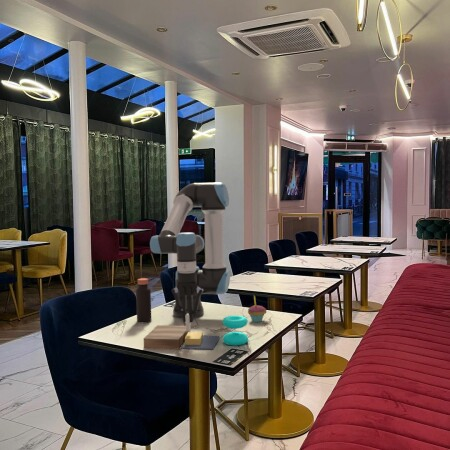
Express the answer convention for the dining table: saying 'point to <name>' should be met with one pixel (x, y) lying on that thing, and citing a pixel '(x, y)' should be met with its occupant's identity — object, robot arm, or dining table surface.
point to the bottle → (143, 301)
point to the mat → (204, 343)
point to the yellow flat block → (193, 338)
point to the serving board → (166, 337)
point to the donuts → (235, 323)
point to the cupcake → (256, 312)
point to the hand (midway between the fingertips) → (188, 330)
